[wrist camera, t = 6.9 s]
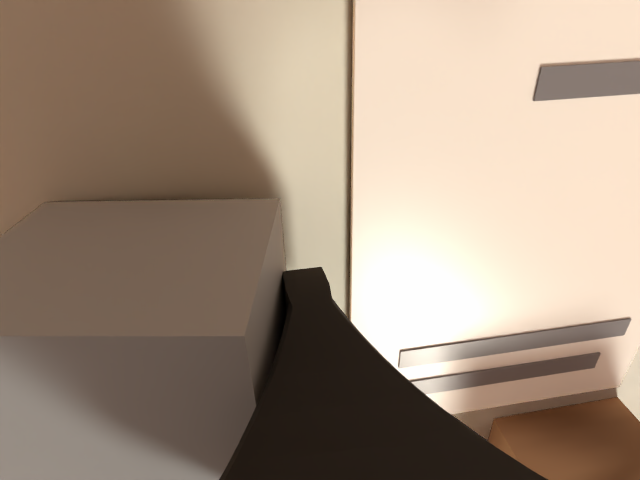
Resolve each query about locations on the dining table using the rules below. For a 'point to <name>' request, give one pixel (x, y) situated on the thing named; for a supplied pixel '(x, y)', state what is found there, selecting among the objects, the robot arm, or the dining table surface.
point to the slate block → (136, 336)
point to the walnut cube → (574, 441)
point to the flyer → (497, 195)
